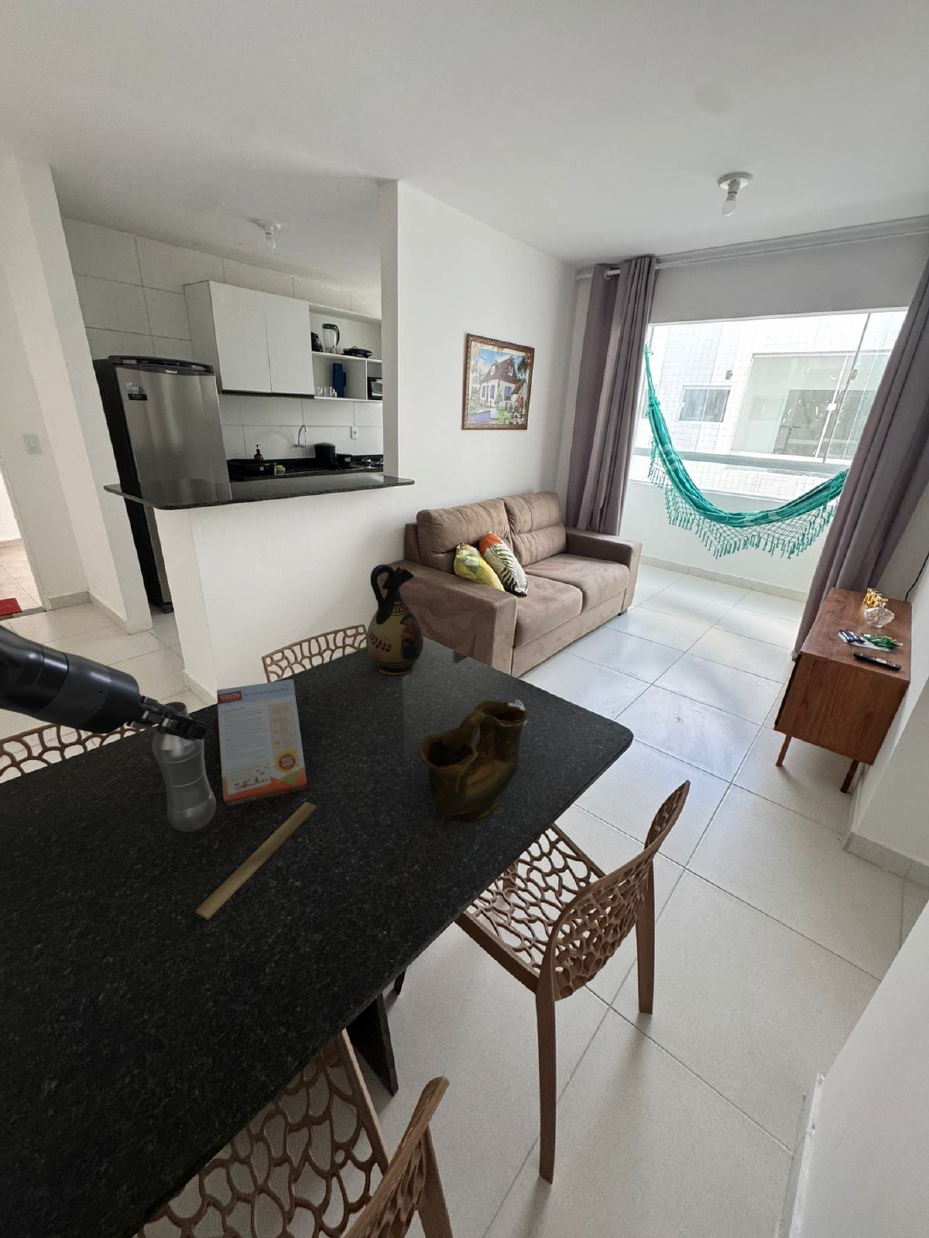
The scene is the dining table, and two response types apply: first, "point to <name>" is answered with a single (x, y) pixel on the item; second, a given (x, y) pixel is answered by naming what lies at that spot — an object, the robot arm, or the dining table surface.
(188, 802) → the plastic bottle
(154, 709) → the robot arm
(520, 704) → the elephant figurine
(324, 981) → the dining table surface
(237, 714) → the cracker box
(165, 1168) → the dining table surface
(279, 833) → the strip
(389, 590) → the ceramic jug
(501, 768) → the pottery vessel
